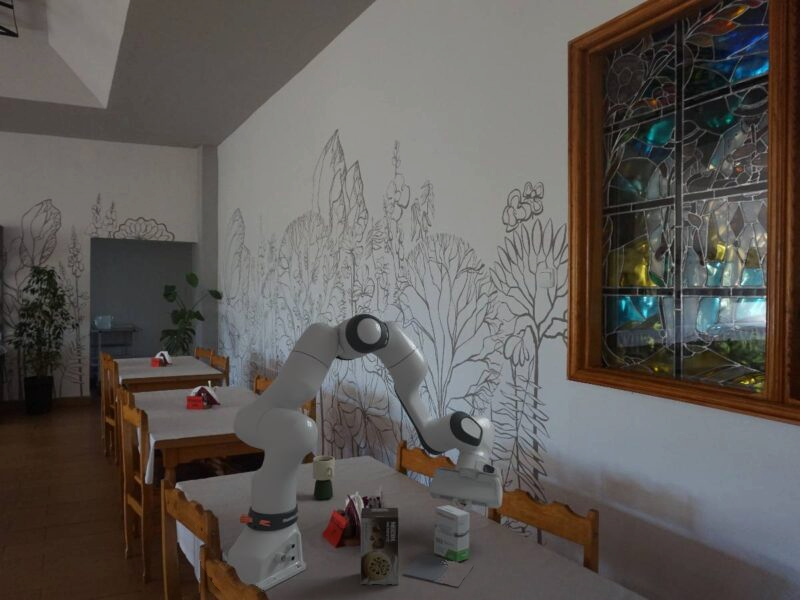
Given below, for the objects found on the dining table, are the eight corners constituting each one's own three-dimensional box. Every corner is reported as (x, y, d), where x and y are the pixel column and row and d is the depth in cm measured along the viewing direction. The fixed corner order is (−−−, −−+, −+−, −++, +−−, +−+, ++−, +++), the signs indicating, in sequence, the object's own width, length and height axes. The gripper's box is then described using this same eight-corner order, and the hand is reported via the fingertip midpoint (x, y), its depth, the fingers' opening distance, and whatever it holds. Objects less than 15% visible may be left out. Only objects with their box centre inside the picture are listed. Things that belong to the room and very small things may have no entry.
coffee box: (397, 572, 152) (399, 507, 152) (398, 585, 146) (399, 517, 146) (360, 572, 152) (361, 506, 152) (359, 585, 146) (360, 516, 145)
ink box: (469, 559, 160) (471, 512, 160) (455, 563, 157) (457, 515, 157) (446, 548, 167) (448, 503, 167) (432, 552, 164) (434, 506, 164)
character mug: (341, 500, 202) (342, 460, 202) (322, 505, 198) (323, 464, 197) (324, 491, 211) (324, 452, 210) (305, 495, 206) (305, 456, 206)
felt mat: (458, 587, 145) (458, 585, 145) (403, 575, 151) (403, 573, 151) (473, 566, 156) (473, 565, 156) (421, 555, 162) (421, 554, 162)
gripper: (433, 459, 178) (420, 504, 169) (504, 469, 170) (493, 517, 161) (438, 471, 182) (425, 515, 174) (507, 481, 174) (497, 528, 165)
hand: (459, 516), depth 167 cm, fingers closed
